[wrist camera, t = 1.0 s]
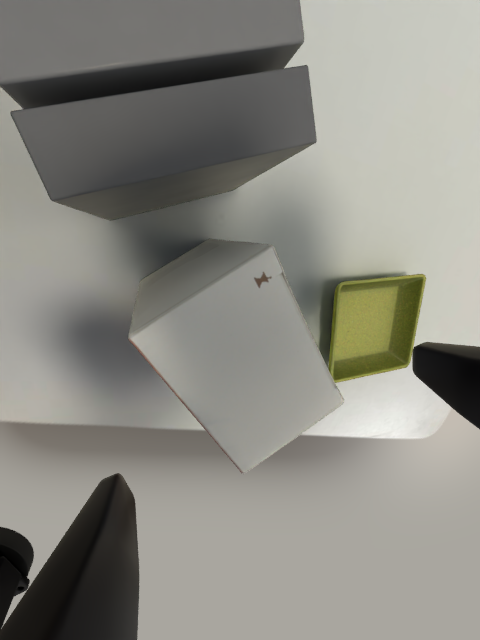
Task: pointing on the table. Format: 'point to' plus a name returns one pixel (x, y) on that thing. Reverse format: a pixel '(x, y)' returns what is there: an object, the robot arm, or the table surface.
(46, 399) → the table surface
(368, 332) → the green square tray
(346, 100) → the table surface
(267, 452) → the small box
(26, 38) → the grey grooved block
